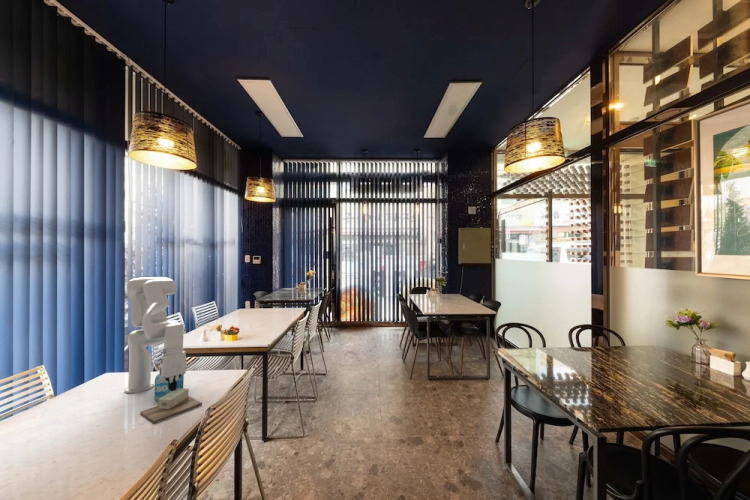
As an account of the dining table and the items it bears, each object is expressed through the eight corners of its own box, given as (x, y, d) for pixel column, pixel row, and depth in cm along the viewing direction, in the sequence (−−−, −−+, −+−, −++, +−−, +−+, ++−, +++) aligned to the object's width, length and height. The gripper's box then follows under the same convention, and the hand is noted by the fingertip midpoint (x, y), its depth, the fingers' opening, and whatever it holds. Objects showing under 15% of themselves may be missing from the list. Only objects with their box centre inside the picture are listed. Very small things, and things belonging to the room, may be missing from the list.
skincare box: (169, 409, 139) (189, 397, 151) (170, 399, 139) (189, 388, 151) (157, 408, 140) (177, 396, 152) (157, 398, 140) (177, 387, 152)
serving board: (140, 414, 136) (140, 411, 136) (187, 397, 153) (187, 395, 153) (153, 423, 129) (153, 421, 129) (201, 405, 145) (201, 402, 145)
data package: (154, 402, 148) (154, 377, 149) (154, 398, 152) (155, 374, 152) (183, 396, 155) (183, 372, 155) (183, 393, 158) (183, 370, 159)
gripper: (158, 355, 133) (157, 398, 133) (194, 347, 146) (193, 386, 145) (151, 352, 138) (150, 393, 137) (186, 345, 150) (185, 382, 149)
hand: (172, 389), depth 141 cm, fingers closed
